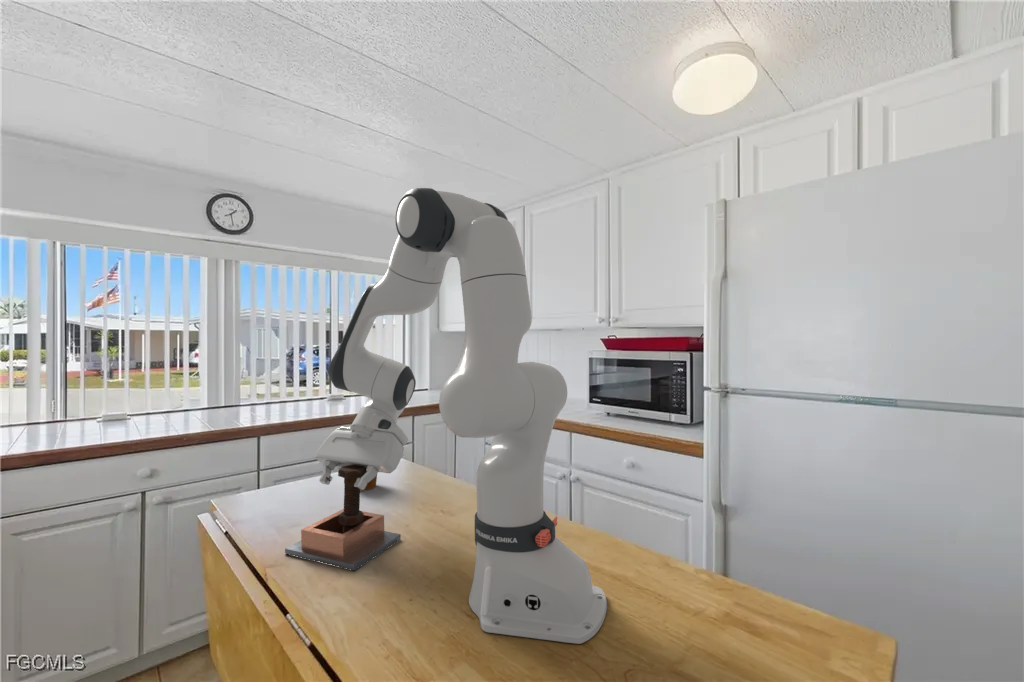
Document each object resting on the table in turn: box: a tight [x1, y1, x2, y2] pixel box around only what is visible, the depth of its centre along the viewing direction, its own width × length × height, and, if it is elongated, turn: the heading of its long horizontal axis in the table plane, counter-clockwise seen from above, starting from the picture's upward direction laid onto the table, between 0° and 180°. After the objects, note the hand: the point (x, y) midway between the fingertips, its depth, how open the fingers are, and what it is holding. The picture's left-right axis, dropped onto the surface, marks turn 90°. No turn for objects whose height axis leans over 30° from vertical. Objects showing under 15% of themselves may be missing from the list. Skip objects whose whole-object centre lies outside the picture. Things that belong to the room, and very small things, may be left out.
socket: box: [284, 508, 402, 571], centre depth 95 cm, size 18×14×5 cm
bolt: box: [337, 465, 367, 534], centre depth 96 cm, size 6×5×15 cm
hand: (340, 485), depth 94 cm, fingers open, 8 cm apart
